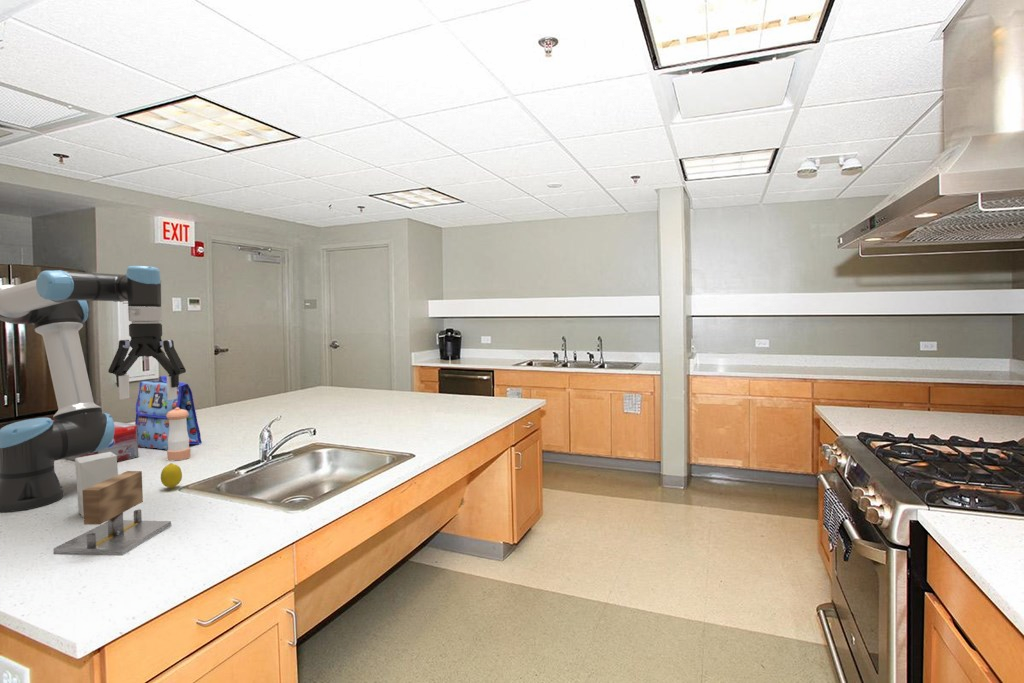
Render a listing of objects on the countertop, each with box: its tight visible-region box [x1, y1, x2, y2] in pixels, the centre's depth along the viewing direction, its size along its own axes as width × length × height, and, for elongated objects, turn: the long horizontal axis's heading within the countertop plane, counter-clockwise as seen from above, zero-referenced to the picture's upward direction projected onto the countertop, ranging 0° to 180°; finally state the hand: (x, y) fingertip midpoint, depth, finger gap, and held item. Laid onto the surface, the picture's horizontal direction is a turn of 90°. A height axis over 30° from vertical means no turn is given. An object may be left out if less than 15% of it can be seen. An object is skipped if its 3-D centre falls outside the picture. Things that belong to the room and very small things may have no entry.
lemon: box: [160, 462, 183, 489], centre depth 160 cm, size 6×6×8 cm
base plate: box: [53, 509, 172, 556], centre depth 125 cm, size 16×16×6 cm
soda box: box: [52, 419, 139, 462], centre depth 196 cm, size 40×14×13 cm, turn 65°
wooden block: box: [82, 470, 144, 526], centre depth 124 cm, size 14×4×8 cm, turn 1°
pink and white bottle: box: [166, 408, 191, 461], centre depth 192 cm, size 7×7×19 cm
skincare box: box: [74, 452, 119, 519], centre depth 141 cm, size 8×7×16 cm
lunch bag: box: [134, 375, 202, 451], centre depth 210 cm, size 22×14×29 cm, turn 73°
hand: (148, 399), depth 143 cm, fingers open, 13 cm apart
